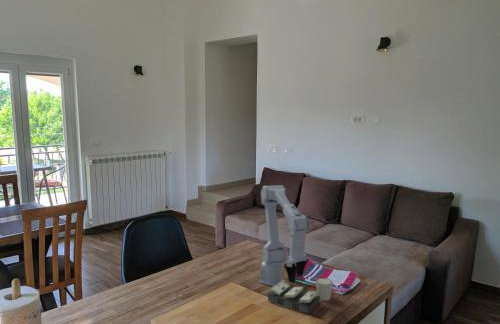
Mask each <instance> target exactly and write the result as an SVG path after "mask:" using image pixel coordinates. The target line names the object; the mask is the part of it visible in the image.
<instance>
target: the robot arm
mask: <svg viewBox="0 0 500 324" xmlns="http://www.w3.org/2000/svg"><path fill="white" fill-rule="evenodd" d="M286 192H287V191H286V187H284V185H282V184H280V185H263V186H262V188H261V190H260V198H261V199H260V200H261V204H262V205H263V206H264V211H265V220H266V222H265V223H266V231H267V232H266V233H267V243H266V244H265V245H263V247H262V263H261V265H260V267H259V268H260V269H259V270H260V271H259V281H258V283H260V284H261V283H262V284H263V285H267V286H271V287H274V286H275V285H277V284H278V283H279V282H281V281H283V282H285V283H286V280H285V279H283V277H282V276H283V275H282V274H283V266H284V269H285V270H286V275H287V278H288V282H289V283H292V284H293V283H295V282H296V277H297V276H298V277H303V276H304V272H305V268H306V265H308V262H309V258H307V252H306V251H305V248H306V246H305V245H306V231H308V230H309V226H310V221H309V218H308V216H307V215H306V214H305V215H304V214H301V212H300V210H299V209H298V208H297V207H296V205H295V204H293V203H291V202H290V200H289V198H288V197H287V196H286ZM277 205H280V206H281V208H282V213H283V215H284V217H285V218H286V220H287V221H288V228H289V234H290V247H289V256H288V255H287V250H286V247H285V244H284V243H282V242H281V241H280V237H279V236H280V235H279V225H278V216H277V208H276V207H277ZM287 258H288V259H287Z"/></svg>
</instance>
